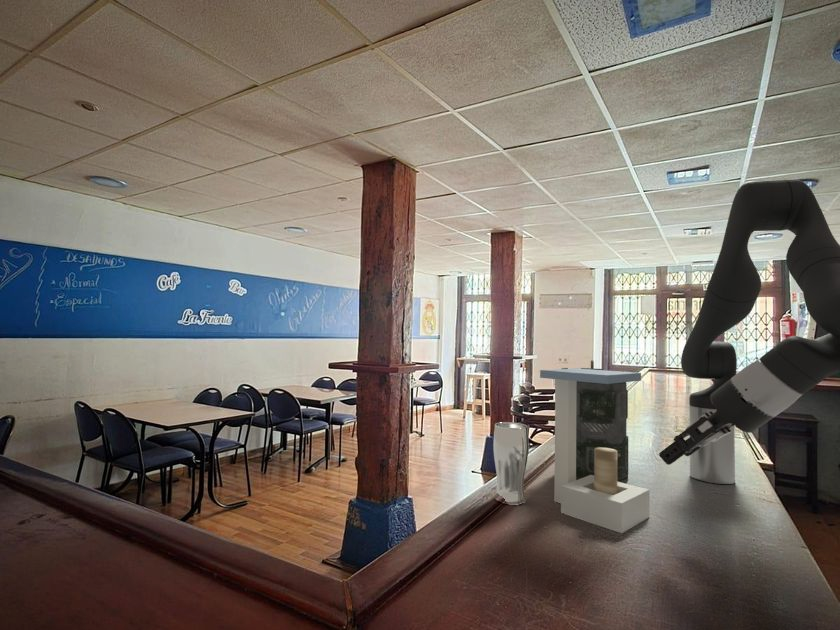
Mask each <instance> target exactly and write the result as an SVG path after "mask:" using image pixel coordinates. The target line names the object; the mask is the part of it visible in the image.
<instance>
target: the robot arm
mask: <svg viewBox="0 0 840 630" xmlns="http://www.w3.org/2000/svg"><path fill="white" fill-rule="evenodd" d="M786 230H787V231H790V232H791V233H793V234H794V235H795V236H794V238H793V240H792V241H791V243H790V245H789V247H788V249H787V252H786V256H785V261H786V262H785V264H786V266H787V270H788V272H789V274H790V275H791V277H792V278H793V280H794V281H795V282H796V285H797V286H798V287H799V289H800V290H801V291H802V293H803V299H804V304H805V307H806V310H807V312H808V314H809V315H810V318H812V320H813V321H814V322H815V323H816V324H817V325H818V326H819V327H820V328H822V329H823V330H824V331H826V332H827V334H825V335H823V336H819V337H817V338H815V339H811V338H810V339H809V338H806V337H802V336H798V335H791V336H788V337H786V338H785V339H782V340H781V341H780V342H778V343H777V344H776V345H775V346H773V347H772V348H771V349H770V350H768V351H767V352H765V354H763V355H762V356H761V357H760V358H757V360H755V361H754V362H752V363H750V364H748V365H746V366H745V367H744V368H741V370H739V371H738V372H737V367H738V366H737V362H738V361H737V358H738V357H737V352H736V348H735V346H734V345H733V344H732V343H730V342H727V341H715V340H717V338H719V337H720V336H721V335H723V334H724V333H726V332H727V331H730V330H731V329H732V328H734V327H735V326H737V325H738V324H739V323H741V322H742V321H744V320H745V319H746V318H747V317H748V316H749V314H751V312H752V311H753V308H754V306H755V304H756V302H757V299H758V297H759V295H760V292H761V290H762V280H761V276H760V274H759V272H758V269H757V267H756V266H755V264H754V262H753V260H752V258H751V255H750V252H749V248H748V247H749V246H748V245H749V240H750V238H751V235H752V234H753V233H755V232H775V231H776V232H780V231H786ZM680 358H681V359H680V364H681V365H680V366H681V371H682V372H683V374H684V375H686V377H689V378H692V379H699V380H700V379H703V380H706V379H707V380H713V383H712V384H711V386H709V387H707V388H705V389H702V390H699V391H696V392H695V391H694V392H692V393H691V394H690V395H689V398H688V399H689V407H688V408H689V425H688V426H687V427H686V428H685V430H683V431H681V433H679V434H678V435H675V436H674V438H673V442H671V443H670V445H668V446H666V447H665V448H664V449H662V450H661V451H660V452H659V454H658V455H659V457H660V459H662V461H663V462H664V463H665V465H668V466H669V465H672V464H673V463H675V462H676V461H677V460H679V459H680V458H681V457H683V456H685V457H689V476H690V477H691V478H692V479H696V480H699V481H701V482H704V483H705V482H706V483H711V484H719V485H732V484H734V483H736V454H735V453H736V450H735V449H736V447H735V445H736V443H735V442H736V441H735V437H736V436H735V433H736V432H735V431H736V430H735V428H737V430H740V431H742V432H744V433H747V434H748V433H753V432H755V431H756V430H758V429H759V428H760V427H762V426H764V425H765V424H767V423H768V422H769V421H770V420H772V419H773V418H775V417H776V416H778V415H779V414H781V413H782V412H784V411H786V410H787V409H788V408H789V407H791V406H792V405H793V404H795V402H796V401H797V400H798V399H799V398H801V397H802V396H803V395H804V394H807V392H808V391H810V390H811V389H813V388H815V387H816V386H817V385H819V384H820V383H821V382H823V381H824V380H825V379H827V378H828V377H830V376H833V375H834V374H837V373H840V244H839V243H838V241H837V240H836V238H835V236H834V234H833V233H832V232H831V229H830V226H829V224H828V222H827V220H826V216H825V215H824V213H823V210H822V208H821V206H820V205H819V202H818V200H817V199H816V196H815V193H814V192H813V191H812V189H811V187H810V186H809V185H808V184H807V183H805V181H803V180H800V179H793V178H791V179H785V178H784V179H764V180H751V181H750V180H749V181H746V182H744V183H742V184H741V186H740V187H739V188H738V189H737V191H736V193H735V194H734V198H733V200H732V204H731V207H730V211H729V216H728V219H727V223H726V226H725V232H724V236H723V240H722V245H721V249H720V251H719V254H718V257H717V261H716V263H715V265H714V269H713V271H712V274H711V276H710V279H709V281H708V285H707V286H706V290H705V293H704V297H703V299H702V303H701V307H700V309H699V313H698V315H697V319H696V321H695V323H694V325H693V327H692V330H691V332H690V334H689V336H688V338H687V340H686V342H685V344H684V347H683V350H682V353H681V357H680ZM687 437H688V438H687ZM685 438H686V439H685Z"/></svg>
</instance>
